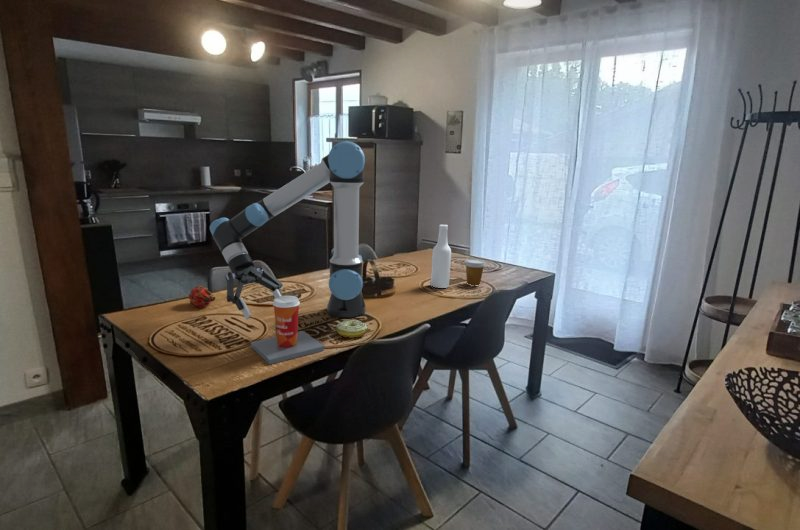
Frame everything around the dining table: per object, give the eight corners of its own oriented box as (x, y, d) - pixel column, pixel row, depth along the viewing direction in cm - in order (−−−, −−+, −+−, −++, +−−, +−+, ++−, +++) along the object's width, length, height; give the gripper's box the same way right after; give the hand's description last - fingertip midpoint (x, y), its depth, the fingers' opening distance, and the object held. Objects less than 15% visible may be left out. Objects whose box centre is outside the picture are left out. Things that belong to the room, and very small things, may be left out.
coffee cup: (268, 345, 142) (266, 299, 139) (286, 336, 149) (285, 293, 146) (288, 351, 139) (287, 305, 135) (306, 342, 146) (305, 297, 142)
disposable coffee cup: (486, 286, 222) (488, 263, 219) (469, 288, 218) (471, 264, 215) (476, 281, 230) (478, 258, 227) (460, 282, 227) (461, 259, 224)
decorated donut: (371, 331, 162) (372, 321, 161) (358, 341, 152) (358, 331, 151) (345, 325, 165) (346, 316, 165) (331, 336, 156) (331, 325, 155)
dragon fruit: (196, 305, 185) (210, 316, 177) (178, 297, 178) (192, 309, 171) (208, 287, 186) (222, 298, 179) (191, 278, 179) (205, 289, 172)
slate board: (302, 334, 155) (302, 330, 155) (324, 350, 144) (324, 346, 144) (251, 346, 144) (250, 342, 144) (269, 364, 133) (269, 359, 133)
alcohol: (429, 288, 215) (432, 225, 208) (432, 283, 224) (435, 223, 216) (447, 290, 213) (451, 227, 206) (450, 285, 222) (454, 224, 214)
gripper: (264, 259, 165) (292, 308, 160) (199, 271, 146) (228, 327, 140) (273, 247, 161) (302, 297, 155) (207, 258, 141) (237, 315, 136)
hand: (267, 312), depth 148 cm, fingers open, 13 cm apart
